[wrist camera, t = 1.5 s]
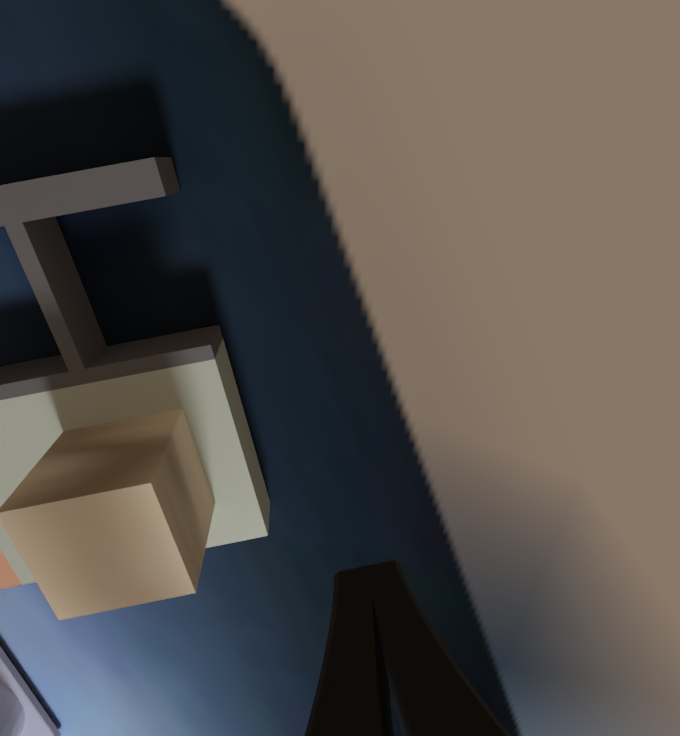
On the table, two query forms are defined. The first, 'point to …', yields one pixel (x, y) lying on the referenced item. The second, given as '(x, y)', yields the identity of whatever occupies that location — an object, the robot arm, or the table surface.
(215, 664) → the table surface
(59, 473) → the birch block
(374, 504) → the table surface
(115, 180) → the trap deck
